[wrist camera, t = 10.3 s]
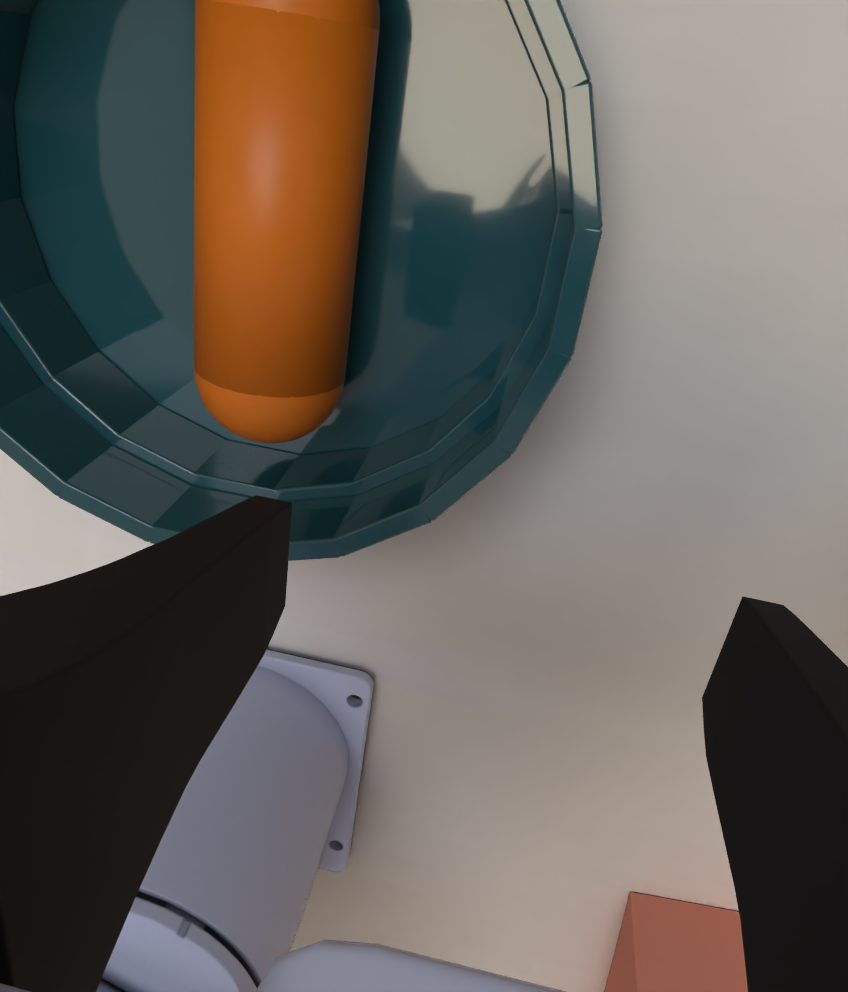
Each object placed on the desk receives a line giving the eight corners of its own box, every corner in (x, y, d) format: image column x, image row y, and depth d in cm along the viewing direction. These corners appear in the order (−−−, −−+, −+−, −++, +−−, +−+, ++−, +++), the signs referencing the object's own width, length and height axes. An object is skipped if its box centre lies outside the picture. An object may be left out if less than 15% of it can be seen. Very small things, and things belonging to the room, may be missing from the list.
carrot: (329, 410, 22) (348, 470, 19) (193, 405, 21) (192, 467, 18) (371, -66, 17) (408, -87, 14) (196, -102, 16) (194, -132, 13)
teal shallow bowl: (522, 518, 23) (510, 622, 18) (26, 416, 24) (-98, 490, 19) (673, -143, 16) (712, -235, 11) (-40, -238, 17) (-257, -354, 12)
